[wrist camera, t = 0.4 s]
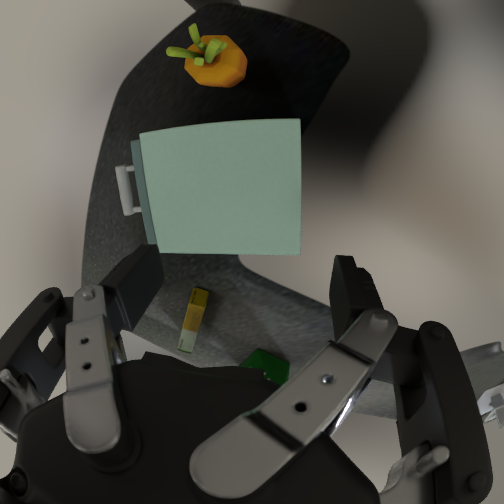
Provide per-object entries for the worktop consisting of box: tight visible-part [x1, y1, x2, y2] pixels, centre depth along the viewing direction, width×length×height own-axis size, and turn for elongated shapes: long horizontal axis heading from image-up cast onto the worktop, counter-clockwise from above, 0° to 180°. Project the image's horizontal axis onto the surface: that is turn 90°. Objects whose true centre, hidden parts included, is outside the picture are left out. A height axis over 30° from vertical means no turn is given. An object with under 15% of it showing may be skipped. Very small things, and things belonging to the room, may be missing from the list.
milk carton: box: [239, 349, 290, 386], centre depth 40 cm, size 9×9×20 cm
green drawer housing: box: [139, 119, 301, 255], centre depth 28 cm, size 15×13×10 cm
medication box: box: [177, 287, 209, 353], centre depth 43 cm, size 12×3×4 cm, turn 161°
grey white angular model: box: [477, 383, 504, 428], centre depth 47 cm, size 19×21×12 cm
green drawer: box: [115, 139, 157, 244], centre depth 29 cm, size 18×11×8 cm, turn 93°
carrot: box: [166, 23, 247, 87], centre depth 20 cm, size 5×5×15 cm
